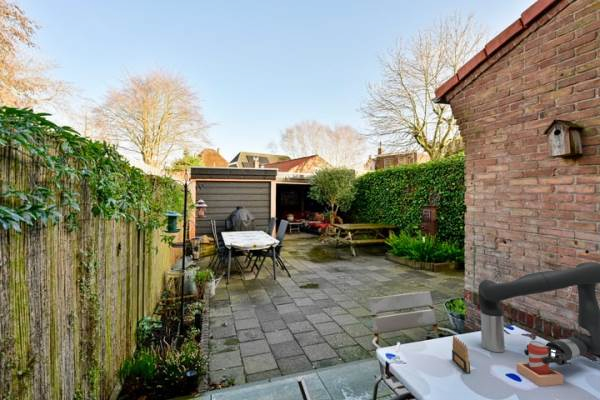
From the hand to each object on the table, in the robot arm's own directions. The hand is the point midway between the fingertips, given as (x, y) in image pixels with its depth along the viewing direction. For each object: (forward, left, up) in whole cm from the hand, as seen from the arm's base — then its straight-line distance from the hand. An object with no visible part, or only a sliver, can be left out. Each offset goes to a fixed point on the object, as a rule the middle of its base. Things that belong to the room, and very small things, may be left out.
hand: (534, 356), depth 115 cm
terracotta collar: (+1, +2, -9) cm, 9 cm away
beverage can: (+1, +2, -7) cm, 8 cm away
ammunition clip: (-26, -8, -9) cm, 29 cm away
